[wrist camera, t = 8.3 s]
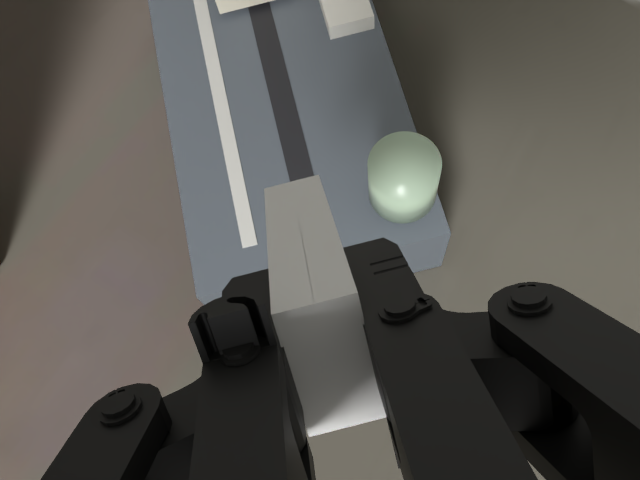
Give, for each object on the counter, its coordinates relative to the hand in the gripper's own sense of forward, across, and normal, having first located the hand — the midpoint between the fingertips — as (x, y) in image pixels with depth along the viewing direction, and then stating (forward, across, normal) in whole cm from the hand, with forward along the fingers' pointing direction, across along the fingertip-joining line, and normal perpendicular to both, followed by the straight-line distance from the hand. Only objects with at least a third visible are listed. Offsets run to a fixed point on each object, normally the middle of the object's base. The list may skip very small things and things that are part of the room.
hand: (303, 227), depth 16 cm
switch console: (+15, 0, 0) cm, 15 cm away
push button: (+7, +4, -3) cm, 8 cm away
